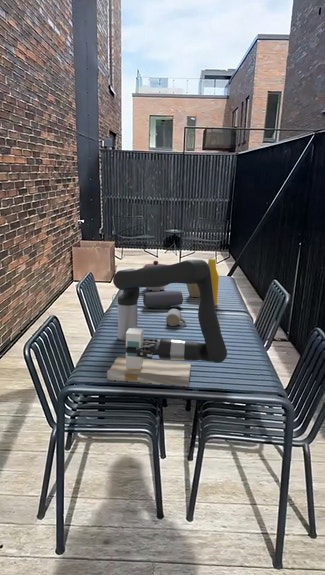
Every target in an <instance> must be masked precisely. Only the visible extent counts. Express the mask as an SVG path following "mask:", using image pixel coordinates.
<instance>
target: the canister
mask: <svg viewBox="0 0 325 575" xmlns="http://www.w3.org/2000/svg"><path fill="white" fill-rule="evenodd" d="M162 264H163V263H159V261H158V260H153V262H152V263H147V264H145V265H143V266H142V268H144V267H148V266H153V265H162ZM165 287H166V286H162V287H145V289H146V290H147V289H148V290H147V291H150V290H152V291H151V292H161V291H160V290H162V291H164V289H165Z"/></svg>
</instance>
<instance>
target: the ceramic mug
mask: <svg viewBox="0 0 325 575" xmlns="http://www.w3.org/2000/svg"><path fill="white" fill-rule="evenodd" d="M182 317H183V316H182V313H181V311H180V310H179V309H177V308H170V309H169V310H168V311H167V314H166V317H165V318H166V319H165V320H166V324H167V325H168V326H170V327H176V326H178V325H179V326H181V327H186V326H187V321H186V320H185V319H183V318H182Z"/></svg>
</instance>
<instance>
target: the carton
mask: <svg viewBox="0 0 325 575" xmlns="http://www.w3.org/2000/svg"><path fill="white" fill-rule="evenodd" d="M143 339H144V328H137V329H135V328H129V329H128V331H127V332H126V341H125V348H126V347H136V348H137V347H142V346H143ZM141 350H142V349H141ZM140 355H143V354H140ZM125 358H126V368H129V369H141V367H142V364H143V359H144V358H142V357H137V354H136V353H127V352H126V351H125Z"/></svg>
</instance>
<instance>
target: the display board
mask: <svg viewBox="0 0 325 575" xmlns="http://www.w3.org/2000/svg"><path fill="white" fill-rule="evenodd" d="M191 365H192V363H191V362H185V361H184V362H183V361H182V362H180V361H172V360H170V361H169V360H157V359H148V358H143V364H142V367H141V369H129V368H126V357H121V356H120V357H119V356H117V357H116V358H115V360H114V362H113V364H112V365H111V367H110V369H108V370H107V371H106V372H107V376H106V377H107V378H106V379H107V381H114V380H116V382H126V381H128V383H137V382H140V383H139V384H148V383H152V384H151V385H160V384H165V385H164V386H171V385H175V386H174V387H183V386H185V387H184V388H189V385H190V384H189V383H190V378H191V377H190V376H191V371H192V370H191V369H192V366H191Z"/></svg>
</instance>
